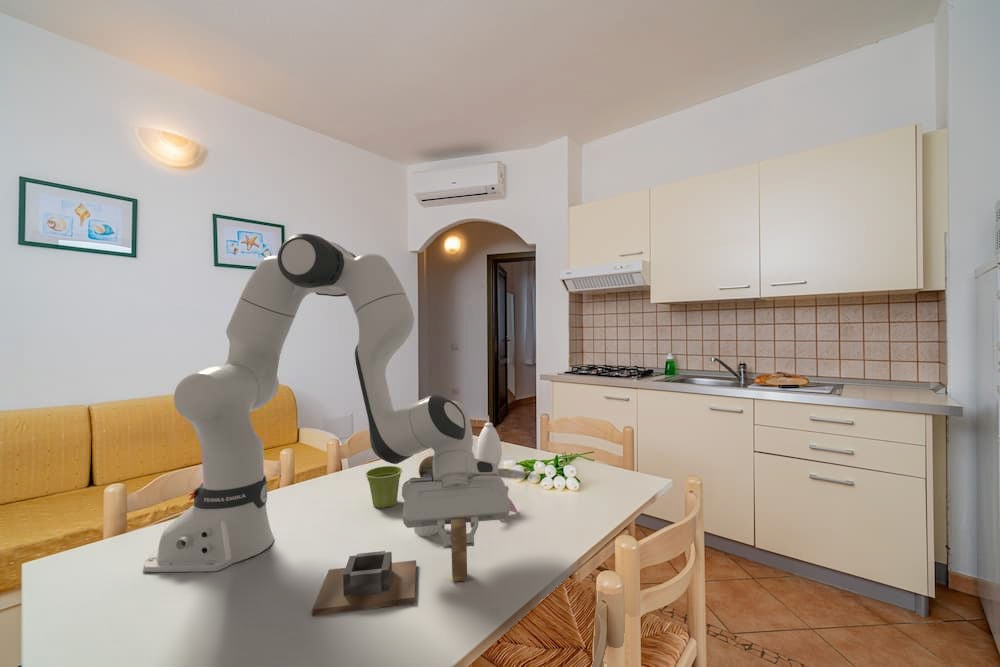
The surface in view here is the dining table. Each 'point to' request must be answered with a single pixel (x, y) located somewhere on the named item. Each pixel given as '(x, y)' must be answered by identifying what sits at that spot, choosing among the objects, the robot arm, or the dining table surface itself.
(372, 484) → the plant pot
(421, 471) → the tin
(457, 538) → the wooden stick
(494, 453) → the sauce bottle
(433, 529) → the white cup
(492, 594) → the dining table surface
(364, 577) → the socket board
